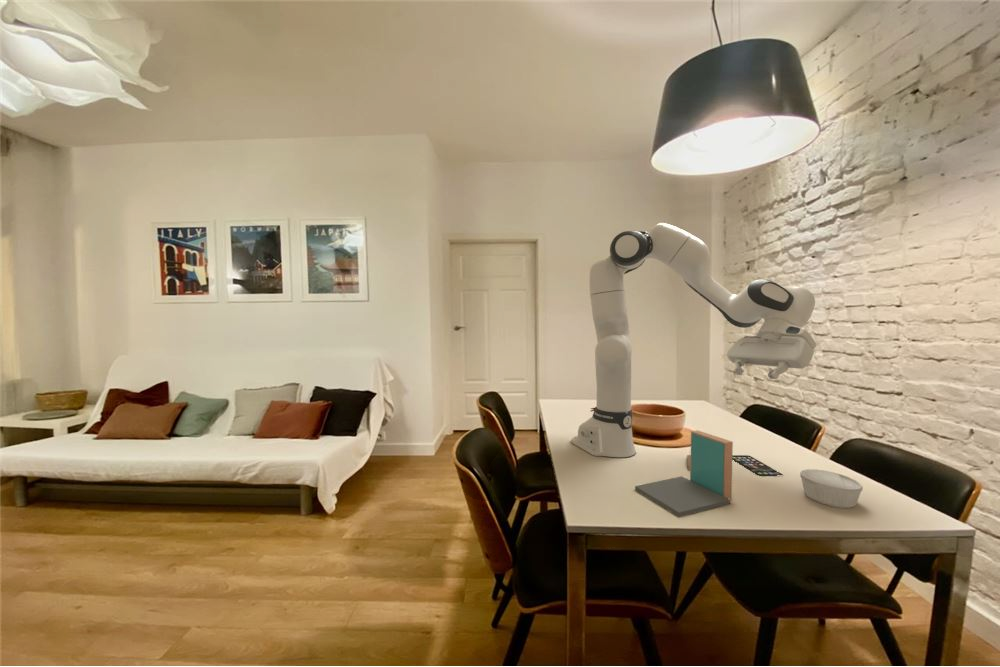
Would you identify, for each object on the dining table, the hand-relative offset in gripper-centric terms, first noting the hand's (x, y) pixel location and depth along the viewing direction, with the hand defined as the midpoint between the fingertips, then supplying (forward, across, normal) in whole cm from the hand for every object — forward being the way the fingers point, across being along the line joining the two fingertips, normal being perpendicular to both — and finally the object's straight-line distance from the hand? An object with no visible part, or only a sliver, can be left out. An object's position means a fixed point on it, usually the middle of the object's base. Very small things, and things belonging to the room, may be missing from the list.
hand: (753, 375), depth 100 cm
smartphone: (+14, -8, +28) cm, 32 cm away
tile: (+32, -1, +8) cm, 33 cm away
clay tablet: (+24, -12, +17) cm, 32 cm away
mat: (+38, -1, 0) cm, 38 cm away
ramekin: (+17, +13, +26) cm, 33 cm away
